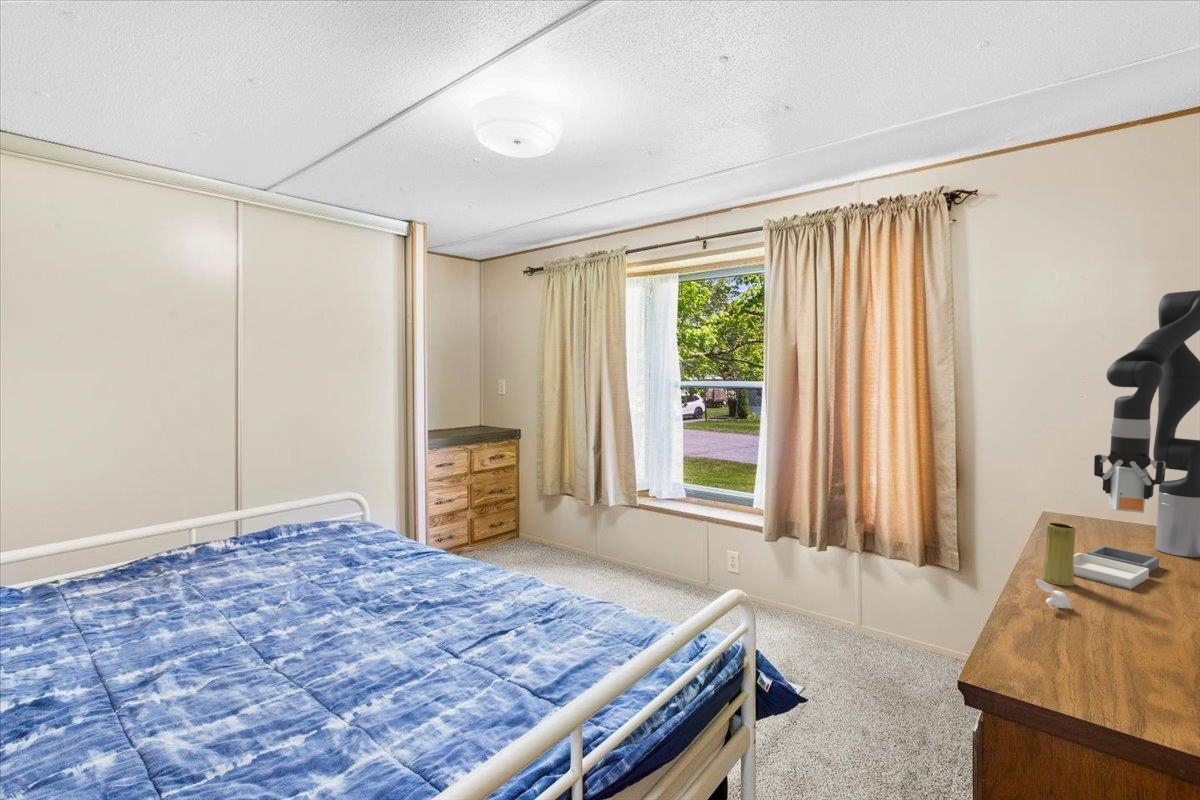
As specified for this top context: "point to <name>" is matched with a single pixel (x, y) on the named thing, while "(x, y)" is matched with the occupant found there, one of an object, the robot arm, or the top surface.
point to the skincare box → (1127, 490)
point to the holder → (1126, 557)
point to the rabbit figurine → (1054, 596)
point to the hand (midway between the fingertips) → (1126, 495)
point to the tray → (1109, 571)
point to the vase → (1059, 554)
